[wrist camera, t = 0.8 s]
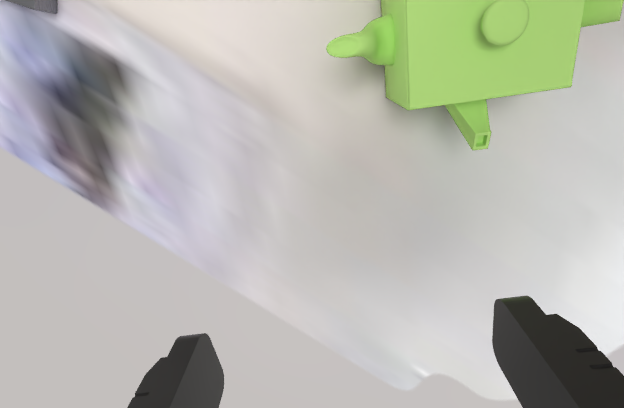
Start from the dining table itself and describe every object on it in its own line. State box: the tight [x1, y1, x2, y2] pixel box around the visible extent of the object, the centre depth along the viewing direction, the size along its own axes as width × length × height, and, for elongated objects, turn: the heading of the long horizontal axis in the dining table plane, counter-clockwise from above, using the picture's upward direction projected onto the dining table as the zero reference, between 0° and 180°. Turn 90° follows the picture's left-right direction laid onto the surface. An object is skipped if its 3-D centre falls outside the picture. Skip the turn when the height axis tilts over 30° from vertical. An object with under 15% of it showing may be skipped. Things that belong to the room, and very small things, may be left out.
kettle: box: [326, 0, 623, 150], centre depth 24 cm, size 15×14×11 cm
